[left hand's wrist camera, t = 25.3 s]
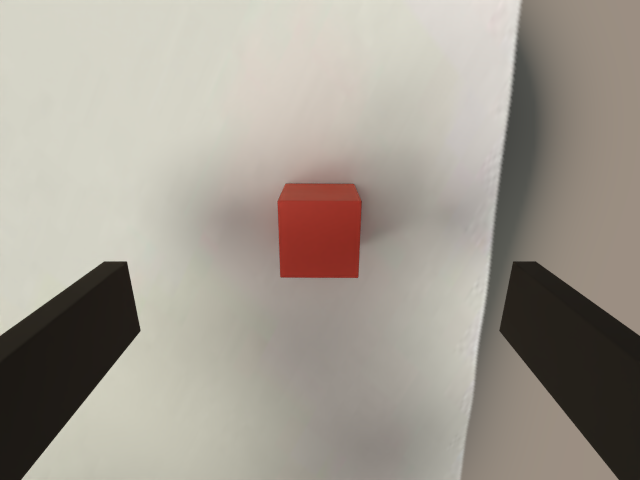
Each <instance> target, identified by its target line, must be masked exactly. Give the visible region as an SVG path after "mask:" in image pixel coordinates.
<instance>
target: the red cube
mask: <svg viewBox="0 0 640 480" xmlns="http://www.w3.org/2000/svg"><path fill="white" fill-rule="evenodd" d="M361 204H362V201H361V199H360V197H359V195H358V192H357V190H356V188H355V185H354V184H285V186H284V188H283V191H282V193H281V195H280V197H279V199H278V224H279V251H280V277H294V278H358V272H359V249H360V227H361Z"/></svg>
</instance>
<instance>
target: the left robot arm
mask: <svg viewBox="0 0 640 480" xmlns="http://www.w3.org/2000/svg"><path fill="white" fill-rule="evenodd" d="M139 332H140V326H139V320H138V315H137V310H136V305H135V300H134V295H133V290H132V285H131V280H130V275H129V270H128V265H127V262H103V263H102V264H100V265H99V266H97V267H96V268H95V269H93V270H92V271H90V272H89V273H88V274H86V275H85V276H83V277H82V278H81V279H79V280H78V281H76V282H75V283H74V284H72V285H71V286H69V287H68V288H67V289H65V290H64V291H62V292H61V293H60V294H58V295H57V296H55V297H54V298H53V299H51V300H50V301H48V302H47V303H46V304H44V305H43V306H41V307H40V308H39V309H37V310H36V311H34V312H33V313H32V314H30V315H29V316H27V317H26V318H25V319H23V320H22V321H20V322H19V323H18V324H16V325H15V326H13V327H12V328H11V329H9V330H8V331H6V332H5V333H4V334H2V335H1V336H0V480H21V479H22V478H23V477H24V475H25V474H26V473H27V472H28V470H29V469H30V468H31V467H32V465H33V464H34V463H35V462H36V460H37V459H38V458H39V457H40V455H41V454H42V453H43V452H44V451H45V449H46V448H47V447H48V446H49V444H50V443H51V442H52V441H53V439H54V438H55V437H56V436H57V434H58V433H59V432H60V431H61V429H62V428H63V427H64V426H65V424H66V423H67V422H68V421H69V419H70V418H71V417H72V416H73V414H74V413H75V412H76V411H77V409H78V408H79V407H80V406H81V404H82V403H83V402H84V401H85V399H86V398H87V397H88V396H89V394H90V393H91V392H92V391H93V389H94V388H95V387H96V386H97V384H98V383H99V382H100V381H101V380H102V378H103V377H104V376H105V375H106V373H107V372H108V371H109V370H110V368H111V367H112V366H113V365H114V363H115V362H116V361H117V360H118V358H119V357H120V356H121V355H122V353H123V352H124V351H125V350H126V348H127V347H128V346H129V345H130V343H131V342H132V341H133V340H134V338H135V337H136V336H137V335H138V333H139ZM500 332H501V333H502V335H503V336H504V337H505V338H506V340H507V341H508V342H509V343H510V345H511V346H512V347H513V348H514V349H515V351H516V352H517V353H518V355H519V356H520V357H521V358H522V360H523V361H524V362H525V363H526V364H527V366H528V367H529V368H530V369H531V371H532V372H533V373H534V375H535V376H536V377H537V378H538V379H539V381H540V382H541V383H542V384H543V386H544V387H545V388H546V389H547V391H548V392H549V393H550V394H551V396H552V397H553V398H554V399H555V401H556V402H557V403H558V404H559V406H560V407H561V408H562V409H563V411H564V412H565V413H566V414H567V416H568V417H569V418H570V419H571V421H572V422H573V423H574V424H575V426H576V427H577V428H578V429H579V430H580V432H581V433H582V434H583V436H584V437H585V438H586V439H587V441H588V442H589V443H590V444H591V446H592V447H593V448H594V449H595V451H596V452H597V453H598V454H599V455H600V457H601V458H602V459H603V460H604V462H605V463H606V464H607V465H608V467H609V468H610V469H611V470H612V472H613V473H614V474H615V475H616V477H617V478H618V479H619V480H640V336H639V335H638V334H636V333H635V332H634V331H632V330H631V329H629V328H628V327H627V326H625V325H624V324H622V323H621V322H620V321H618V320H617V319H615V318H614V317H613V316H611V315H610V314H608V313H607V312H606V311H604V310H603V309H601V308H600V307H599V306H597V305H596V304H594V303H593V302H591V301H590V300H589V299H587V298H586V297H585V296H583V295H582V294H580V293H579V292H578V291H576V290H575V289H573V288H572V287H571V286H569V285H568V284H566V283H565V282H564V281H562V280H561V279H559V278H558V277H557V276H555V275H554V274H552V273H551V272H550V271H548V270H547V269H545V268H544V267H543V266H541V265H540V264H538V263H537V262H513V265H512V270H511V275H510V280H509V285H508V290H507V295H506V300H505V305H504V310H503V315H502V321H501V326H500Z"/></svg>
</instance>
